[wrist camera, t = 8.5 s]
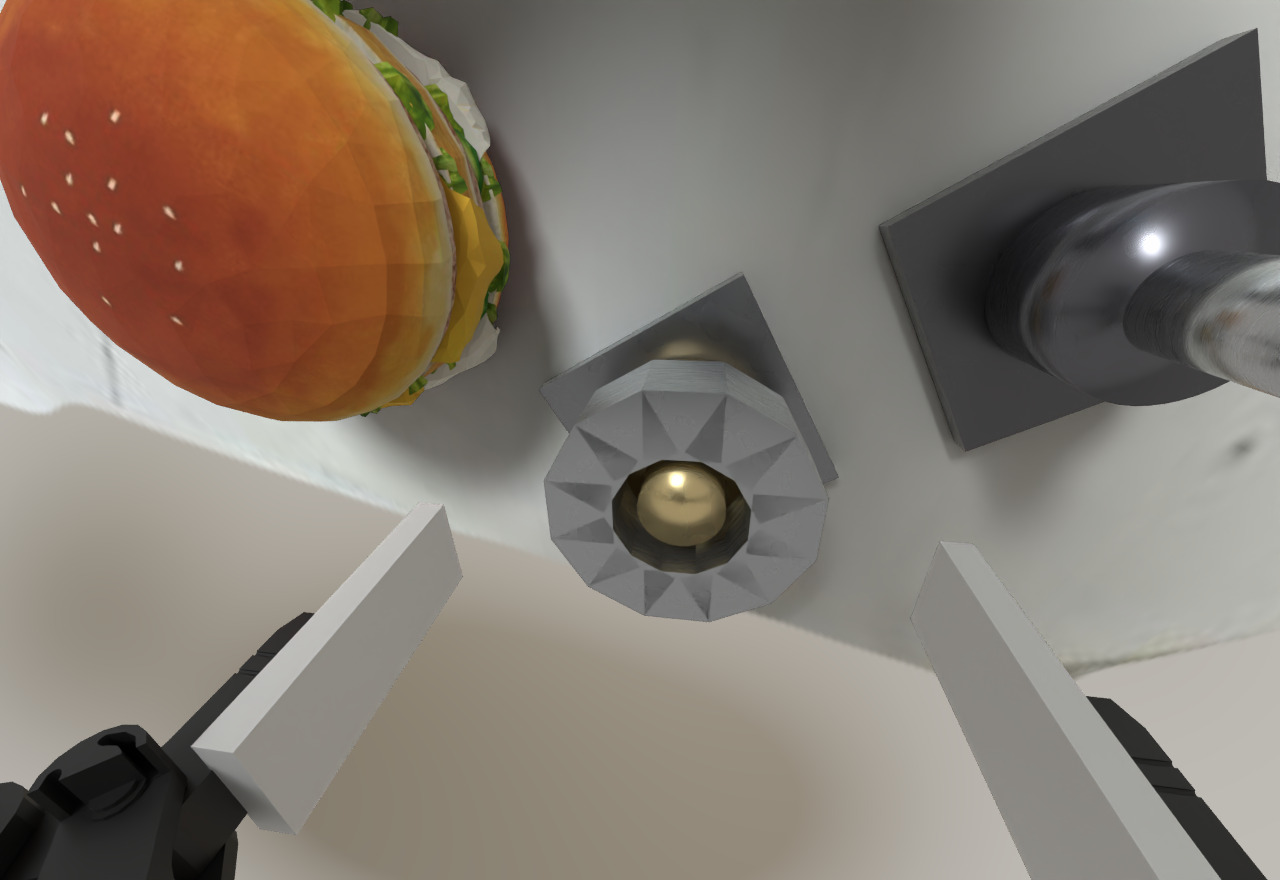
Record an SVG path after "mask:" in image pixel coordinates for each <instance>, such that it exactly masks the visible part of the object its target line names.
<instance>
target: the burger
mask: <svg viewBox="0 0 1280 880" xmlns="http://www.w3.org/2000/svg"><path fill="white" fill-rule="evenodd" d="M489 147H490V136H489V132H488V129H487V125H486V121H485V119H484V118H483V116H482V114H481V113H480V111H479V109H478V108H477V106H476V104H475V102H474V99H473V97H472V95H471V93H470V90H469V88H468V86H467V84H466V82H463V81H460V80H458V79H455V78H453V77H451V76H450V75H449V74H448V73H447V71H446V70H445V69H444V68H443V67H442V65H441V64H440V63H439V62H438V60H435V59H432V58H429V57H426V56H425V55H423V54H421V53H420V52H418V51H416V50H415V49H413V48H412V47H410V46H409V45H408V44H407V43H405V42H404V41H403V40H402V39H400V38H399V37H398V22H397V21H396V20H395V19H393V18H392V17H391V16H389V17H384V18H383V17H382V16H381V15H380V14H379V13H378V12H377V11H376V10H375V9H374V8H373V7H372V8H367V9H362V10H353V6H352V4H351V3H349V2H347V1H345V0H343V1H340V0H7V1H6V3H5V5H4V7H3V9H2V11H1V13H0V180H1V182H2V185H3V188H4V190H5V193H6V196H7V199H8V201H9V204H10V207H11V210H12V212H13V215H14V217H15V219H16V220H17V222H18V223H19V225H20V226H21V228H22V230H23V231H24V233H25V234H26V236H27V237H28V239H29V241H30V242H31V244H32V245H33V247H34V248H35V250H36V252H37V253H38V255H39V256H40V258H41V259H42V261H43V262H44V264H45V266H46V267H47V269H48V270H49V272H50V273H51V275H52V277H53V278H54V280H55V281H56V283H57V284H58V286H59V288H60V289H61V290H62V291H63V292H64V293H65V294H66V295H67V296H68V297H69V298H70V299H71V300H72V302H73V303H74V304H75V305H76V306H77V307H78V308H79V309H80V310H81V311H82V312H83V313H84V314H85V316H86V317H87V318H88V319H89V320H90V321H91V322H92V323H93V324H95V325H96V326H97V327H98V328H99V329H100V330H101V331H102V332H103V333H104V334H105V335H107V336H108V337H109V338H110V339H111V340H112V341H113V342H114V343H115V344H116V345H118V346H119V347H120V348H122V349H123V350H125V351H126V352H128V353H129V354H131V355H132V356H134V357H135V358H136V359H138V360H139V361H141V362H142V363H144V364H145V365H147V366H148V367H149V368H151V369H152V370H154V371H155V372H157V373H158V374H160V375H161V376H163V377H164V378H165V379H167V380H168V381H170V382H171V383H173V384H174V385H176V386H178V387H180V388H182V389H184V390H186V391H189V392H191V393H193V394H195V395H197V396H199V397H201V398H204V399H206V400H208V401H210V402H212V403H214V404H216V405H220V406H224V407H228V408H231V409H235V410H239V411H243V412H247V413H250V414H254V415H258V416H262V417H266V418H270V419H275V420H280V421H337V420H341V419H345V418H348V417H352V416H356V415H361V416H364V417H366V416H367V415H368V414H369V413H370V412H372V413H376V414H377V413H378V412H379V410H380V409H381V408H385V407H389V406H400V405H412V404H413V402H414V401H415V400H416V399H417V398H418V397H419V396H420V394H421V393H422V392H423V391H424V390H428V389H430V388H433V387H436V386H438V385H441V384H443V383H444V382H446V381H447V380H449V379H450V378H452V377H453V376H455V375H456V374H458V373H460V372H463V371H465V370H468V369H470V368H473V367H475V366H477V365H479V364H481V363H483V362H485V361H486V360H487V359H489V358H490V357H491V356H492V355H493V354H494V353H495V351H496V349H497V337H498V335H499V333H500V331H501V330H500V329H499V328H498V327H496V329H494V327H493V322H494V321H495V320H496V319H497V312H496V308H497V306H498V303H499V300H500V296H501V292H502V290H503V289H504V287H505V285H506V283H507V280H508V274H509V267H510V253H509V251H508V237H509V236H508V228H507V220H506V212H505V204H504V200H503V197H502V194H501V192H502V189H501V186H500V184H499V183H498V181H497V177H496V174H495V171H494V168H493V165H492V163H491V161H490V159H489V157H488V155H487V153H486V150H487V149H488V148H489Z"/></svg>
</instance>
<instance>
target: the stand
mask: <svg viewBox="0 0 1280 880" xmlns="http://www.w3.org/2000/svg"><path fill="white" fill-rule="evenodd" d="M879 228H880V231H881V234H882V237H883V240H884V242H885V245H886V248H887V251H888V254H889V257H890V259H891V262H892V265H893V268H894V271H895V274H896V276H897V279H898V282H899V285H900V288H901V291H902V293H903V296H904V299H905V302H906V305H907V308H908V310H909V313H910V316H911V319H912V322H913V325H914V327H915V330H916V333H917V336H918V339H919V342H920V344H921V347H922V350H923V353H924V356H925V359H926V361H927V364H928V367H929V370H930V373H931V376H932V379H933V381H934V384H935V387H936V390H937V393H938V396H939V398H940V401H941V404H942V407H943V410H944V413H945V415H946V418H947V421H948V424H949V427H950V430H951V432H952V435H953V438H954V441H955V442H956V443H957V444H958V445H959V446H960V447H961V448H962V449H963V450H964V451H965V452H966V451H969V450H971V449H974V448H977V447H980V446H983V445H985V444H988V443H991V442H994V441H996V440H999V439H1002V438H1005V437H1008V436H1010V435H1013V434H1016V433H1019V432H1021V431H1024V430H1027V429H1030V428H1032V427H1035V426H1038V425H1041V424H1044V423H1046V422H1049V421H1052V420H1055V419H1057V418H1060V417H1063V416H1066V415H1069V414H1071V413H1074V412H1077V411H1080V410H1082V409H1085V408H1088V407H1091V406H1094V405H1096V404H1099V403H1102V402H1105V401H1106V402H1110V403H1114V404H1119V405H1129V406H1150V405H1158V404H1166V403H1170V402H1175V401H1180V400H1183V399H1187V398H1190V397H1193V396H1197V395H1199V394H1202V393H1204V392H1207V391H1210V390H1212V389H1214V388H1216V387H1219V386H1221V385H1223V384H1225V383H1227V382H1229V381H1232V382H1234V383H1237V384H1240V385H1243V386H1246V387H1249V388H1252V389H1255V390H1258V391H1261V392H1264V393H1267V394H1270V395H1273V396H1276V397H1279V398H1280V183H1278V182H1273V181H1268V180H1267V176H1266V160H1265V144H1264V127H1263V111H1262V95H1261V78H1260V62H1259V46H1258V29H1257V28H1255V29H1252V30H1249V31H1246V32H1243V33H1240V34H1237V35H1234V36H1231V37H1228V38H1225V39H1222V40H1220V41H1218V42H1216V43H1215V44H1213V45H1211V46H1209V47H1207V48H1205V49H1203V50H1202V51H1200V52H1198V53H1196V54H1194V55H1192V56H1191V57H1189V58H1187V59H1185V60H1183V61H1181V62H1180V63H1178V64H1176V65H1174V66H1172V67H1170V68H1168V69H1167V70H1165V71H1163V72H1161V73H1159V74H1157V75H1156V76H1154V77H1152V78H1150V79H1148V80H1146V81H1144V82H1143V83H1141V84H1139V85H1137V86H1135V87H1133V88H1132V89H1130V90H1128V91H1126V92H1124V93H1122V94H1121V95H1119V96H1117V97H1115V98H1113V99H1111V100H1109V101H1108V102H1106V103H1104V104H1102V105H1100V106H1098V107H1097V108H1095V109H1093V110H1091V111H1089V112H1087V113H1085V114H1084V115H1082V116H1080V117H1078V118H1076V119H1074V120H1073V121H1071V122H1069V123H1067V124H1065V125H1063V126H1061V127H1060V128H1058V129H1056V130H1054V131H1052V132H1050V133H1049V134H1047V135H1045V136H1043V137H1041V138H1039V139H1038V140H1036V141H1034V142H1032V143H1030V144H1028V145H1026V146H1025V147H1023V148H1021V149H1019V150H1017V151H1015V152H1014V153H1012V154H1010V155H1008V156H1006V157H1004V158H1002V159H1001V160H999V161H997V162H995V163H993V164H991V165H990V166H988V167H986V168H984V169H982V170H980V171H979V172H977V173H975V174H973V175H971V176H969V177H967V178H966V179H964V180H962V181H960V182H958V183H956V184H955V185H953V186H951V187H949V188H947V189H945V190H943V191H942V192H940V193H938V194H936V195H934V196H932V197H931V198H929V199H927V200H925V201H923V202H921V203H919V204H918V205H916V206H914V207H912V208H910V209H908V210H907V211H905V212H903V213H901V214H899V215H897V216H896V217H894V218H892V219H890V220H888V221H886V222H884V223H883V224H881V225H879Z"/></svg>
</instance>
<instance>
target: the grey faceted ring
mask: <svg viewBox="0 0 1280 880" xmlns="http://www.w3.org/2000/svg"><path fill="white" fill-rule="evenodd" d="M660 460H677V461H695V462H703V463H704V464H706V465H708V466H710V467H711V468H713V469H715V470H717V471H718V472H720V473H722V474H724V475H725V476H727V477H729V478H731V479H732V480H734V481H735V482H736V484H737V486H738V487H739V489H740V491H741V493H740V494H739V495H738V497H737V498H736V499H735V500H734V501H733V502H732V504H731V505H730V506H729V507H728V508H727V510H726V517H725V521H724V524H723V526H722V527H721V529H720V530H719V532H718V533H717V534H716V535H715V536H713V537H712V538H711V539H709V540H707V541H705V542H703V543H700V544H697V545H692V546H676V545H671V544H667V543H664V542H662V541H660V540H658V539H656V538H655V537H653V536H652V535H651V534H650V533H649V532H648V531H647V530H646V529H645V528H644V527H643V525H642V524H641V522H640V519H639V517H638V513H637V502H638V499H637V497H636V496H635V494H634V493H633V491H632V490H631V488H630V487H629V485H628V484H627V477H628V475H629V474H631V473H633V472H636V471H638V470H640V469H642V468H644V467H647V466H649V465H651V464H653V463H656V462H658V461H660ZM544 487H545V495H546V503H547V511H548V519H549V527H550V535H551V540H552V541H553V542H554V543H555V545H556V546H557V547H558V549H559V550H560V551H561V552H562V554H563V555H564V556H565V558H566V559H567V560H568V561H569V563H570V564H571V565H572V567H573V568H574V569H575V570H576V572H577V573H578V574H579V576H580V577H581V578H582V579H583V581H584V582H585V583H586V584H587V586H588V587H590V588H592V589H594V590H596V591H598V592H600V593H602V594H604V595H606V596H608V597H609V598H611V599H613V600H615V601H617V602H619V603H621V604H623V605H625V606H627V607H629V608H631V609H633V610H634V611H636V612H638V613H640V614H642V615H645V616H654V617H663V618H673V619H684V620H693V621H703V622H711V621H714V620H718V619H721V618H724V617H728V616H731V615H734V614H738V613H741V612H745V611H748V610H751V609H755V608H758V607H761V606H765V605H768V604H771V603H772V602H773V601H774V600H775V599H776V598H777V597H778V596H779V595H781V594H782V593H783V592H784V591H785V590H786V589H787V588H788V587H789V586H790V585H791V584H792V583H793V582H794V581H795V580H796V579H797V578H798V577H799V576H800V575H801V574H802V573H804V572H805V571H806V570H807V569H808V568H809V567H810V566H811V565H812V564H813V563H814V562H815V561H816V559H817V554H818V549H819V544H820V539H821V535H822V530H823V525H824V520H825V515H826V510H827V505H828V501H829V498H828V496H827V493H826V491H825V488H824V486H823V483H822V481H821V478H820V476H819V473H818V471H817V468H816V466H815V463H814V461H813V458H812V456H811V453H810V451H809V449H808V447H807V445H806V443H805V441H804V439H803V437H802V435H801V433H800V431H799V428H798V426H797V424H796V422H795V420H794V418H793V416H792V414H791V412H790V410H789V408H788V406H787V404H786V402H785V400H784V398H783V397H782V396H780V395H779V394H777V393H775V392H774V391H772V390H770V389H769V388H767V387H766V386H764V385H762V384H761V383H759V382H757V381H756V380H754V379H752V378H751V377H749V376H747V375H746V374H744V373H742V372H741V371H739V370H737V369H736V368H734V367H732V366H731V365H729V364H728V363H726V362H722V361H687V360H652V361H650V362H648V363H646V364H644V365H642V366H640V367H639V368H637V369H635V370H633V371H631V372H629V373H627V374H625V375H624V376H622V377H620V378H618V379H616V380H614V381H612V382H610V383H609V384H607V385H605V386H603V387H601V388H599V389H597V390H596V391H595V393H594V394H593V396H592V398H591V399H590V401H589V402H588V404H587V406H586V407H585V409H584V411H583V412H582V414H581V415H580V417H579V419H578V420H577V422H576V423H575V425H574V427H573V429H572V430H571V432H570V434H569V436H568V438H567V439H566V441H565V443H564V445H563V447H562V449H561V450H560V452H559V454H558V456H557V458H556V459H555V461H554V463H553V465H552V467H551V468H550V470H549V472H548V474H547V476H546V477H545V479H544Z"/></svg>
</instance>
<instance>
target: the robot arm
mask: <svg viewBox="0 0 1280 880" xmlns="http://www.w3.org/2000/svg"><path fill="white" fill-rule="evenodd" d="M462 577H463V576H462V572H461V568H460V564H459V561H458V557H457V553H456V549H455V545H454V542H453V538H452V534H451V530H450V526H449V523H448V519H447V515H446V511H445V507H444V505H442V504H428V503H418V504H417V505H416V506H415V507H414V508H413V509H412V510H411V511H410V513H409V514H408V515H407V516H406V517H405V518H404V519H403V520H402V521H401V522H400V523H399V524H398V525H397V527H396V528H395V529H394V530H393V531H392V532H391V533H390V534H389V535H388V536H387V537H386V538H385V539H384V540H383V541H382V543H381V544H380V545H379V546H378V547H377V548H376V549H375V550H374V551H373V552H372V553H371V554H370V555H369V556H368V557H367V559H366V560H365V561H364V562H363V563H362V564H361V565H360V566H359V567H358V568H357V569H356V570H355V572H353V573H352V575H351V576H350V577H349V578H348V579H347V580H346V581H345V582H344V583H343V584H342V585H341V586H340V587H339V588H338V590H337V591H336V592H335V593H334V594H333V595H332V596H331V597H330V598H329V599H328V600H327V601H326V602H325V604H323V606H322V607H321V608H320V609H319V610H318V611H317V612H316V613H306V612H303V613H302V614H301V615H299V616H298V617H296V618H295V619H293V620H292V621H290V622H289V623H287V624H286V625H284V626H283V627H281V628H280V629H278V630H277V631H276V632H275V633H274V634H273V635H272V636H271V637H270V638H269V639H268V640H267V641H266V642H265V643H264V644H263V645H262V646H261V647H260V648H259V650H257V654H256V655H255V656H254V655H252V656H251V657H250V659H249V660H248V661H247V662H246V663H245V664H244V665H243V666H242V667H241V668H240V670H239V672H238V673H237V674H236V673H235V674H234V675H233V676H232V677H231V678H230V679H229V680H228V681H227V682H226V683H225V684H224V685H223V686H222V687H221V688H220V689H219V690H218V691H217V692H216V693H215V694H214V695H213V696H212V697H211V698H210V699H209V700H208V701H207V702H206V703H205V704H204V705H203V706H202V707H201V708H200V709H199V710H198V711H197V712H196V713H195V714H194V715H193V716H192V717H191V718H190V719H189V721H187V723H185V724H184V726H183V727H182V728H181V729H180V730H179V731H178V732H177V733H176V734H175V735H174V736H173V737H172V738H171V739H170V740H169V741H168V742H167V743H165V744H164V745H163V746H162V747H160V746H159V745H158V744H157V743H156V742H155V741H154V739H153V738H152V737H151V736H150V735H149V734H148V733H147V732H146V731H145V730H144V729H143V728H141V727H140V726H138V725H120V726H117V727H114V728H110V729H107V730H103V731H102V732H99V733H97V734H95V735H93V736H92V737H89V738H88V739H85V740H83V741H81V742H80V743H78V744H77V745H75V746H74V747H72V748H71V749H70V750H68V751H67V752H65V753H64V754H63V755H61V756H60V757H58V758H57V759H56V760H55V761H54V762H53V763H52V764H51V765H50V766H49V767H48V768H47V769H46V770H44V771H43V772H42V773H41V774H40V775H39V776H38V778H37V779H36V781H35V782H34V784H33V785H32V787H31V788H30V790H29V791H28V790H27V789H25V788H24V787H23V786H21V785H18V784H16V783H14V782H7V783H0V880H234V878H235V869H236V859H237V850H238V839H237V832H236V831H235V829H236V828H237V826H238V825H239V824H240V822H241V821H242V820H243V818H244V817H245V816H246V814H248V815H249V816H250V818H251V819H252V820H253V821H254V822H255V824H256V825H257V826H258V827H259V828H260V829H263V830H269V831H274V832H280V833H286V834H291V835H297V834H298V832H299V831H300V829H301V828H302V826H303V824H304V823H305V821H306V820H307V818H308V817H309V815H310V813H311V812H312V810H313V809H314V807H315V805H316V804H317V802H318V801H319V799H320V798H321V796H322V795H323V793H324V792H325V790H326V789H327V787H328V785H329V784H330V782H331V781H332V779H333V778H334V776H335V774H336V773H337V771H338V770H339V768H340V767H341V765H342V764H343V762H344V761H345V759H346V757H347V756H348V754H349V753H350V751H351V750H352V748H353V746H354V745H355V743H356V742H357V740H358V739H359V737H360V735H361V734H362V733H363V731H364V729H365V728H366V726H367V725H368V723H369V721H370V720H371V718H372V717H373V715H374V714H375V712H376V711H377V709H378V708H379V706H380V704H381V703H382V701H383V700H384V698H385V697H386V695H387V694H388V692H389V690H390V689H391V687H392V686H393V684H394V683H395V681H396V680H397V678H398V676H399V675H400V673H401V672H402V670H403V669H404V667H405V666H406V664H407V662H408V661H409V659H410V658H411V656H412V655H413V653H414V652H415V650H416V649H417V647H418V645H419V644H420V642H421V641H422V639H423V638H424V636H425V635H426V633H427V631H428V630H429V628H430V627H431V625H432V624H433V622H434V621H435V619H436V617H437V616H438V614H439V613H440V611H441V610H442V608H443V607H444V605H445V603H446V602H447V600H448V599H449V597H450V596H451V594H452V593H453V591H454V589H455V588H456V586H457V585H458V583H459V582H460V580H461V579H462ZM910 619H911V621H912V623H913V625H914V628H915V630H916V632H917V634H918V636H919V638H920V640H921V643H922V645H923V647H924V649H925V651H926V653H927V656H928V658H929V660H930V662H931V664H932V666H933V668H934V671H935V673H936V675H937V677H938V679H939V681H940V683H941V686H942V688H943V690H944V692H945V694H946V697H947V699H948V701H949V703H950V705H951V707H952V709H953V712H954V714H955V716H956V718H957V720H958V722H959V725H960V727H961V728H962V731H963V733H964V735H965V737H966V740H967V742H968V744H969V746H970V748H971V750H972V752H973V755H974V757H975V759H976V761H977V763H978V766H979V767H980V770H981V772H982V774H983V776H984V778H985V781H986V783H987V785H988V787H989V789H990V791H991V794H992V796H993V798H994V800H995V802H996V804H997V806H998V809H999V811H1000V813H1001V815H1002V817H1003V819H1004V822H1005V824H1006V826H1007V828H1008V830H1009V832H1010V835H1011V836H1012V839H1013V841H1014V843H1015V845H1016V847H1017V850H1018V852H1019V854H1020V856H1021V858H1022V860H1023V862H1024V865H1025V867H1026V869H1027V871H1028V873H1029V876H1030V878H1031V880H1267V879H1266V878H1265V876H1264V875H1263V874H1262V873H1261V871H1260V870H1259V869H1258V868H1257V866H1256V865H1255V864H1254V863H1253V861H1252V860H1251V859H1250V858H1249V856H1248V855H1247V854H1246V853H1245V852H1244V851H1243V849H1242V848H1241V846H1240V845H1239V844H1238V843H1237V842H1236V840H1235V839H1234V838H1233V837H1232V835H1231V834H1230V833H1229V832H1228V830H1227V829H1226V828H1225V827H1224V825H1223V824H1222V823H1221V822H1220V820H1219V819H1218V818H1217V817H1216V815H1215V814H1214V813H1213V812H1212V810H1211V809H1210V808H1209V807H1208V806H1207V804H1206V803H1205V802H1204V801H1203V799H1202V798H1200V797H1197V796H1196V794H1195V789H1194V788H1193V787H1192V786H1191V784H1190V783H1189V782H1188V781H1187V780H1186V778H1185V777H1184V776H1183V774H1182V773H1181V772H1180V771H1179V770H1178V768H1174V767H1173V766H1172V761H1171V760H1170V758H1169V757H1168V756H1167V755H1166V753H1165V752H1164V751H1163V750H1162V748H1161V747H1160V746H1159V745H1158V743H1157V742H1156V741H1155V740H1154V738H1153V737H1152V736H1151V735H1150V734H1149V732H1148V731H1147V730H1146V729H1145V728H1144V727H1143V726H1142V725H1141V724H1140V723H1138V722H1137V721H1136V720H1135V719H1134V718H1132V717H1131V716H1130V715H1129V714H1128V713H1126V712H1125V711H1124V710H1123V709H1122V708H1120V707H1119V706H1118V705H1117V704H1116V703H1115V702H1113V701H1112V700H1111V699H1107V698H1097V697H1089V696H1085V695H1084V693H1083V692H1082V691H1081V689H1080V688H1079V687H1078V685H1077V684H1076V683H1075V681H1074V680H1073V678H1072V677H1071V676H1070V674H1069V673H1068V672H1067V670H1066V669H1065V668H1064V666H1063V665H1062V663H1061V662H1060V661H1059V659H1058V658H1057V657H1056V655H1055V654H1054V653H1053V651H1052V650H1051V649H1050V647H1049V646H1048V645H1047V643H1046V642H1045V640H1044V639H1043V638H1042V636H1041V635H1040V634H1039V632H1038V631H1037V630H1036V628H1035V627H1034V626H1033V624H1032V623H1031V622H1030V620H1029V619H1028V617H1027V616H1026V615H1025V613H1024V612H1023V611H1022V609H1021V608H1020V607H1019V605H1018V604H1017V603H1016V601H1015V600H1014V599H1013V597H1012V596H1011V594H1010V593H1009V592H1008V590H1007V589H1006V588H1005V586H1004V585H1003V584H1002V582H1001V581H1000V580H999V578H998V577H997V575H996V574H995V573H994V571H993V570H992V569H991V567H990V566H989V565H988V563H987V562H986V561H985V559H984V558H983V557H982V555H981V554H980V552H979V551H978V550H977V548H976V547H975V546H974V544H971V543H957V542H944V541H940V542H939V544H938V547H937V549H936V552H935V555H934V557H933V560H932V563H931V565H930V568H929V571H928V573H927V576H926V579H925V581H924V584H923V587H922V589H921V592H920V594H919V597H918V600H917V602H916V605H915V608H914V610H913V613H912V616H911V618H910Z"/></svg>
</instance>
